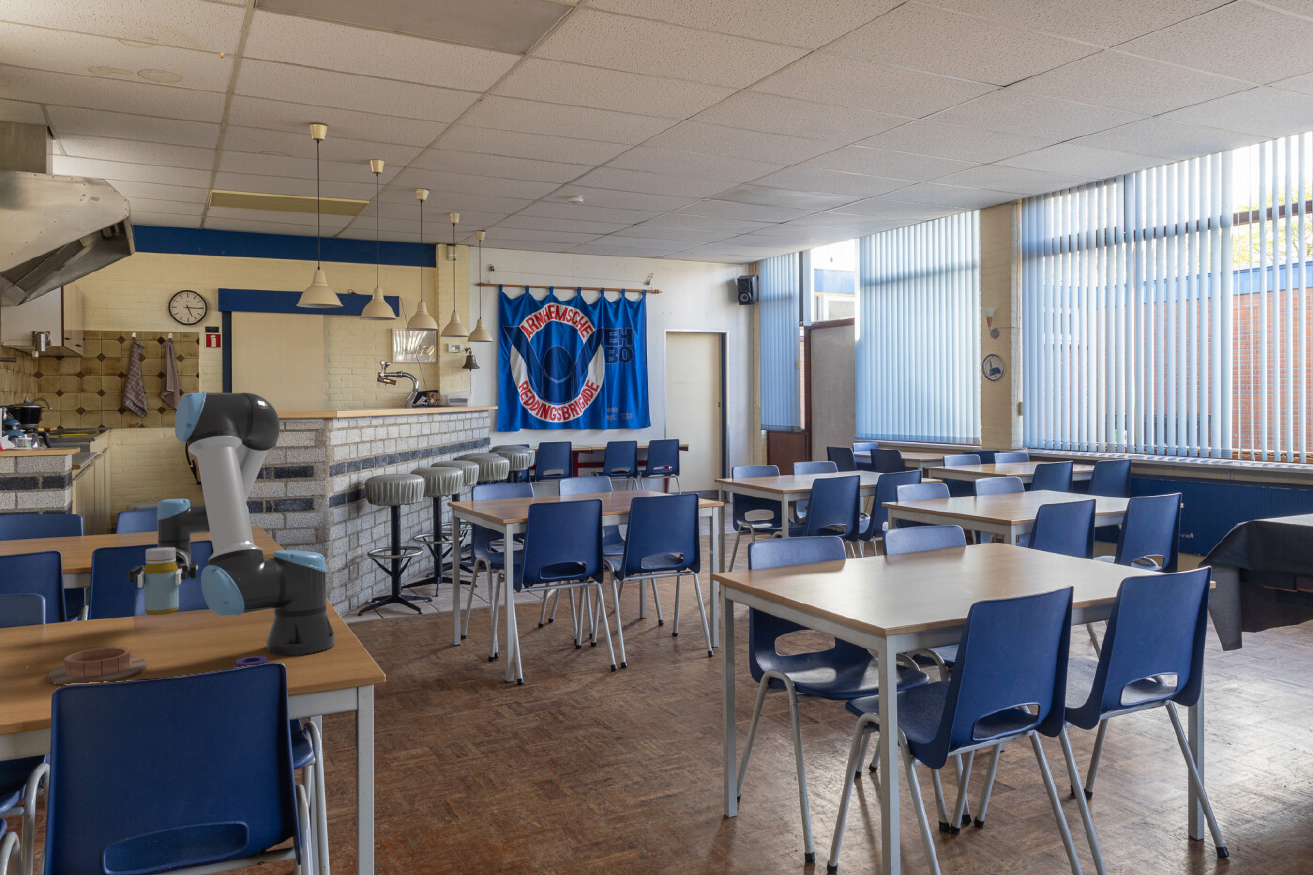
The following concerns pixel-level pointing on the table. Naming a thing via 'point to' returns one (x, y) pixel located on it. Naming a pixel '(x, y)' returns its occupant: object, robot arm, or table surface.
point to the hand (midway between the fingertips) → (158, 580)
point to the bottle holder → (97, 666)
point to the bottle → (160, 581)
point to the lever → (251, 661)
